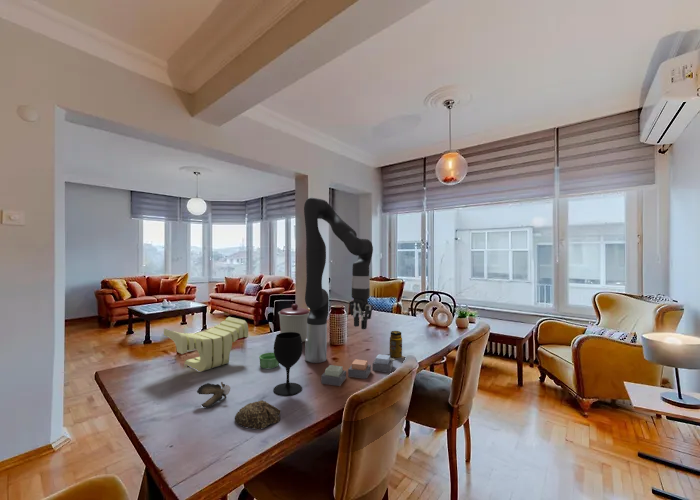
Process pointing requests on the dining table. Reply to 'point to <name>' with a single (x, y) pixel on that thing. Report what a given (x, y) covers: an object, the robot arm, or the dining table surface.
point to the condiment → (395, 345)
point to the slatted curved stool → (210, 343)
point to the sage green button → (334, 370)
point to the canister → (294, 320)
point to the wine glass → (287, 359)
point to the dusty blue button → (383, 359)
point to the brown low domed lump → (257, 415)
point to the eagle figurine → (214, 390)
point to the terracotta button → (359, 364)
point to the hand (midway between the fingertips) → (360, 327)
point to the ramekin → (268, 360)
